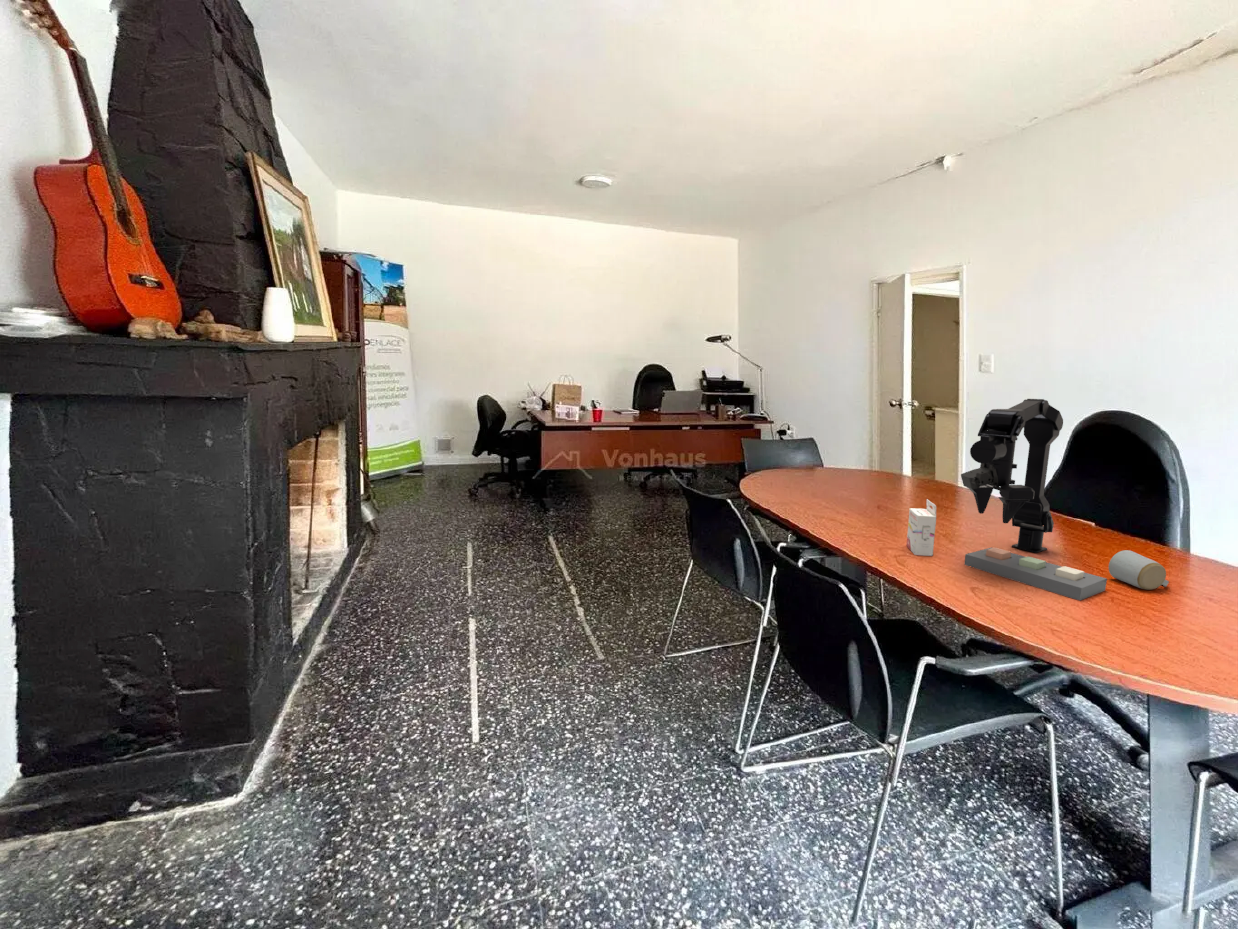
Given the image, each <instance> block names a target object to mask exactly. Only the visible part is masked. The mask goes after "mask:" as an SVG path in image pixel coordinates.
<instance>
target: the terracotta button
mask: <svg viewBox="0 0 1238 929" xmlns="http://www.w3.org/2000/svg"><path fill="white" fill-rule="evenodd" d="M990 548H991V547H990ZM1011 553H1012V551H1010V550H1007V549H1002V548H998V547H992V548H991V549H988V550H986V556H989V557H993V558H996V559H1000V560H1005V559H1009V558H1011Z"/></svg>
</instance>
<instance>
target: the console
mask: <svg viewBox="0 0 1238 929" xmlns="http://www.w3.org/2000/svg"><path fill="white" fill-rule="evenodd" d="M991 548H993V547H988V548H984V549H980V550H977V551H971V552H969V553H965V555H964V565H963V566H967V567H969V566H971V567H970V568H973V567H974V568H973V569H976V570H980V571H984V572H985V573H990V574H993V575H996V576H998V577H1003V578H1005V579H1008V580H1013V581H1015V582H1019V583H1022V584H1025V585H1028V586H1030V587H1031V586H1032V587H1034V588H1037V589H1041V590H1044V591H1047V592H1051V593H1055V594H1058V595H1060V596H1064V597H1067V598H1070V599H1074V600H1077V601H1082V600H1085V599H1087V598H1090V597H1092V596H1096V595H1098V594H1100V593H1102V592H1105V591H1106V586H1107V581H1108V579H1107V577H1102V576H1099V575H1095V574H1092V573H1089V572H1084V577H1083V579H1080V580H1078V581H1074V580H1070V579H1067V578H1063V577H1059V576H1056V575H1055V573H1056V569H1058V568H1061V567H1063V566H1062V565H1058V564H1054V563H1051V562H1047V561H1046V564H1045V568H1042V569H1039V570H1035V569H1031V568H1028V567H1024V566H1021V565H1019V559H1021V558H1024V557H1026V556H1025V555H1021V554H1017V553H1013V552H1011V558H1009V559H1005V560H1000V559H996V558H993V557H989V556H986V550H988V549H991Z"/></svg>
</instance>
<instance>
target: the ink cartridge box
mask: <svg viewBox="0 0 1238 929" xmlns="http://www.w3.org/2000/svg"><path fill="white" fill-rule="evenodd" d="M936 526H937V505H936V504H935V503H933V502H932V501H930V500H929V499H928V498H926V508H914V507H913V508H912V507H911V508H909V512H908V525H907V534H906V547H907V548H908V549H909V550H910V551H911V553H913V555H914V556H924V557H925V556H929V557H932V556H934V549H935V548H934V547H935V546H934V545H935V534H936Z"/></svg>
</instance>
